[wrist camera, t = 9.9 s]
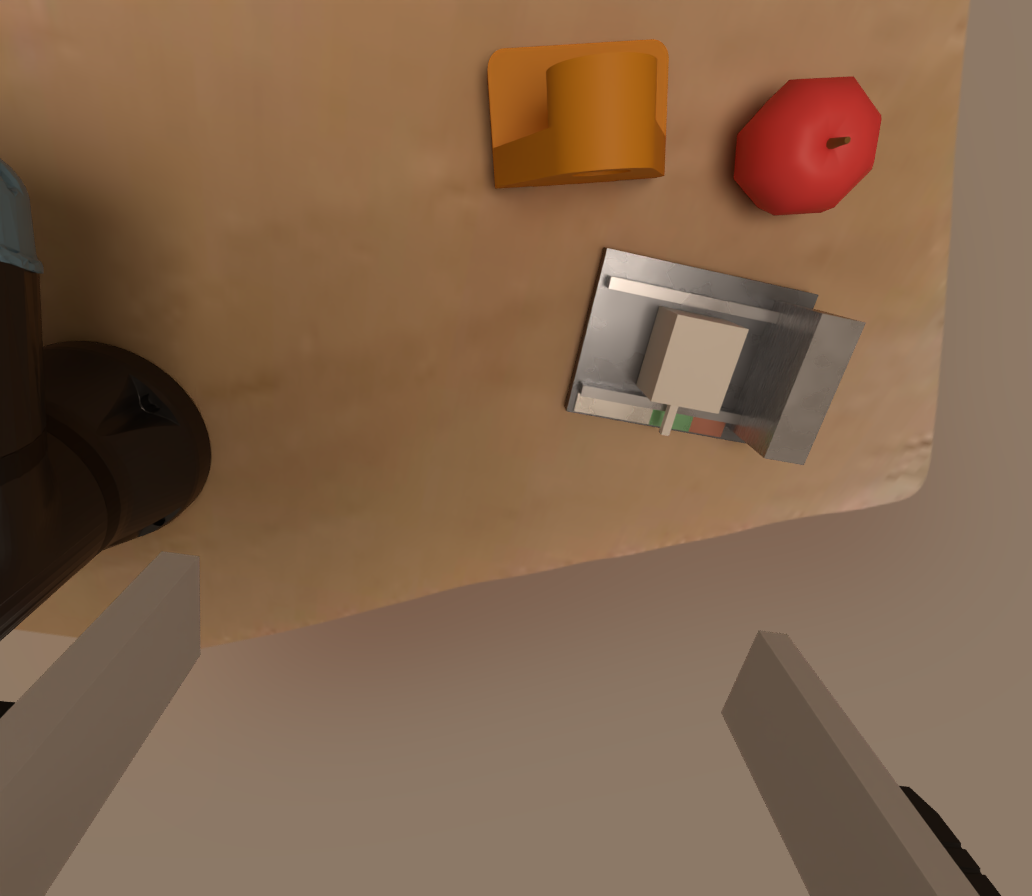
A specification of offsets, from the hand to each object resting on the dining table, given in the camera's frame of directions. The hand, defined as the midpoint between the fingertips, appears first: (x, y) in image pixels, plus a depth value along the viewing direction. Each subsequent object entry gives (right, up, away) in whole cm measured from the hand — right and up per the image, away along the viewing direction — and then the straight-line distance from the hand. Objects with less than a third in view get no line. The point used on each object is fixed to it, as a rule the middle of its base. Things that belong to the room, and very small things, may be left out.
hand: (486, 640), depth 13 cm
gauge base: (+13, +12, +29) cm, 34 cm away
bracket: (+4, +26, +23) cm, 35 cm away
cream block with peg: (+13, +10, +28) cm, 33 cm away
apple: (+18, +25, +25) cm, 39 cm away
